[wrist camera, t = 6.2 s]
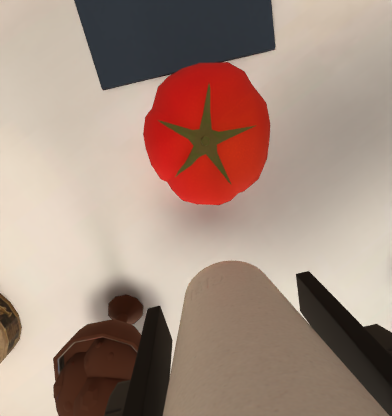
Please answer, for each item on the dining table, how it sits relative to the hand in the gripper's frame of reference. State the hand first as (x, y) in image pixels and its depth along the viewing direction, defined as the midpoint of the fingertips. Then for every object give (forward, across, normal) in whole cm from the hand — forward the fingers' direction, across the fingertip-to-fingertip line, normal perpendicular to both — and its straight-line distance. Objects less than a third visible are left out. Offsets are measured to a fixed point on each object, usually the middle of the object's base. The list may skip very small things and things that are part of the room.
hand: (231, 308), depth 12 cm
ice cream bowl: (+17, +16, +12) cm, 26 cm away
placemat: (+17, -2, -23) cm, 29 cm away
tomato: (+17, -2, -10) cm, 20 cm away
